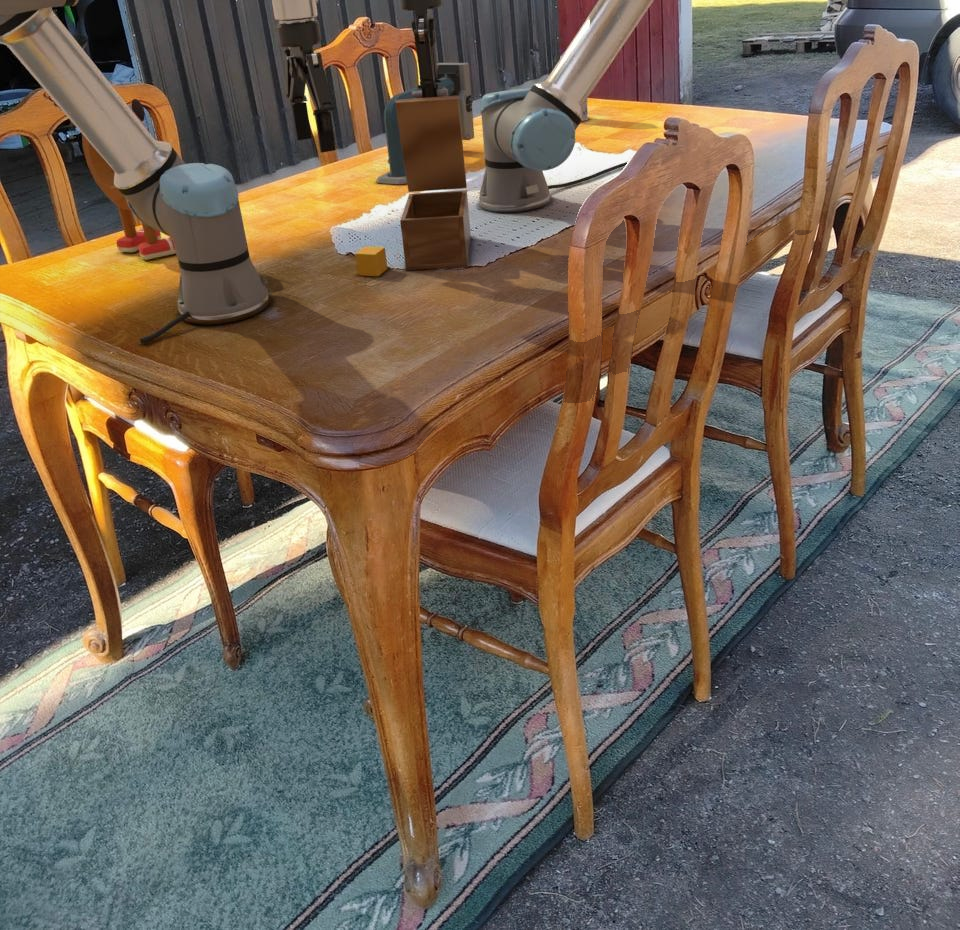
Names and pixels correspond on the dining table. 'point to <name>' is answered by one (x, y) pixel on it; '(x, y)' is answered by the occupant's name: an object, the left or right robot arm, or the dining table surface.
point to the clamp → (451, 78)
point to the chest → (436, 230)
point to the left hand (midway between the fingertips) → (315, 145)
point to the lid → (431, 141)
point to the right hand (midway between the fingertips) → (433, 122)
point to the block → (371, 261)
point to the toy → (104, 177)
